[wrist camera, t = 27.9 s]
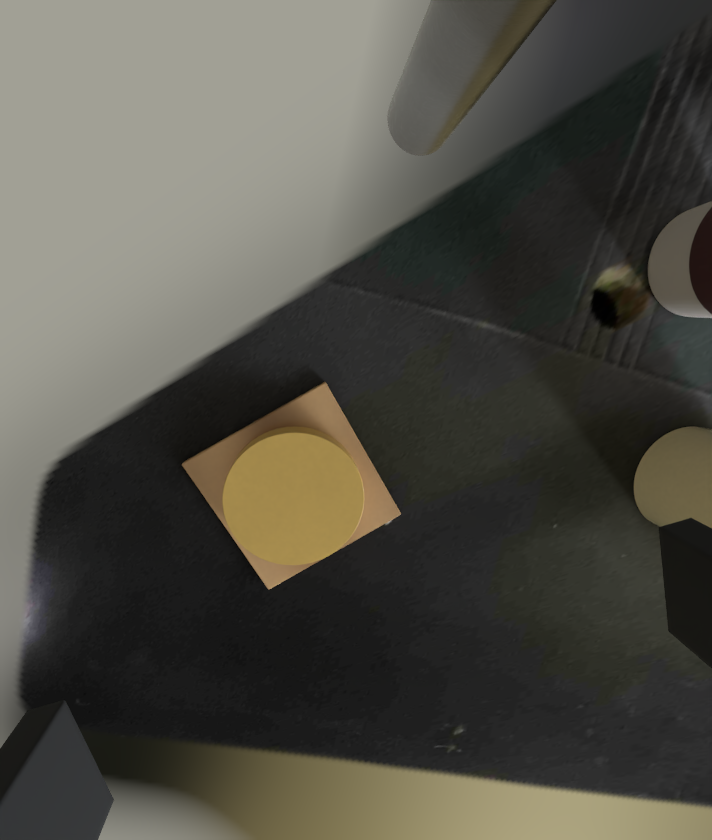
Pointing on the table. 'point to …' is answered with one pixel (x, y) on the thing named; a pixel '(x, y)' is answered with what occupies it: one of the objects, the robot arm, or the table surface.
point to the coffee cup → (684, 264)
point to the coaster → (301, 412)
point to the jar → (676, 478)
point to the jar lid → (293, 496)
